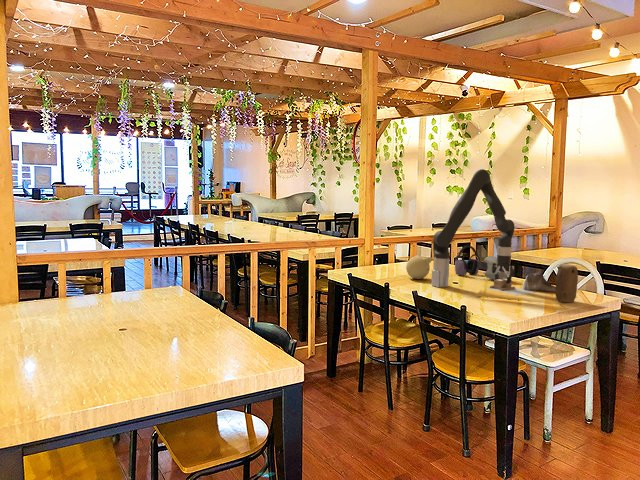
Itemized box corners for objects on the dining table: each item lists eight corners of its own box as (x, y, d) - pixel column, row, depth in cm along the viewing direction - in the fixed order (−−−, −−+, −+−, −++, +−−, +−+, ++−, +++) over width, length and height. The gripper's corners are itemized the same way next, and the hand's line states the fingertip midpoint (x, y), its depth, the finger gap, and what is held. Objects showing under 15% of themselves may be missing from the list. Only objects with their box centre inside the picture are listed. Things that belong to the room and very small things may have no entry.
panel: (516, 298, 285) (517, 291, 284) (485, 290, 303) (485, 284, 303) (535, 295, 293) (536, 288, 292) (503, 288, 311) (504, 282, 311)
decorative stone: (501, 283, 325) (502, 259, 323) (481, 279, 340) (482, 256, 338) (515, 282, 330) (516, 258, 329) (494, 277, 345) (495, 255, 344)
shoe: (571, 295, 295) (573, 273, 293) (568, 298, 286) (570, 276, 284) (525, 289, 309) (526, 269, 307) (520, 292, 300) (522, 271, 298)
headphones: (480, 275, 354) (482, 245, 352) (462, 277, 346) (463, 247, 343) (470, 272, 362) (471, 244, 360) (452, 274, 354) (453, 245, 352)
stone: (564, 304, 271) (567, 266, 269) (552, 301, 277) (554, 264, 275) (578, 301, 278) (580, 264, 275) (565, 299, 283) (568, 262, 281)
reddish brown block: (500, 290, 298) (501, 281, 298) (493, 288, 302) (494, 279, 302) (511, 288, 303) (511, 279, 302) (504, 286, 307) (504, 278, 306)
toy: (434, 280, 332) (435, 257, 330) (414, 282, 326) (415, 258, 325) (420, 276, 347) (421, 253, 346) (400, 277, 342) (401, 254, 340)
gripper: (518, 255, 296) (517, 283, 298) (498, 252, 308) (497, 279, 310) (509, 256, 292) (508, 285, 294) (489, 253, 304) (488, 280, 306)
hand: (502, 282), depth 302 cm, fingers open, 8 cm apart
